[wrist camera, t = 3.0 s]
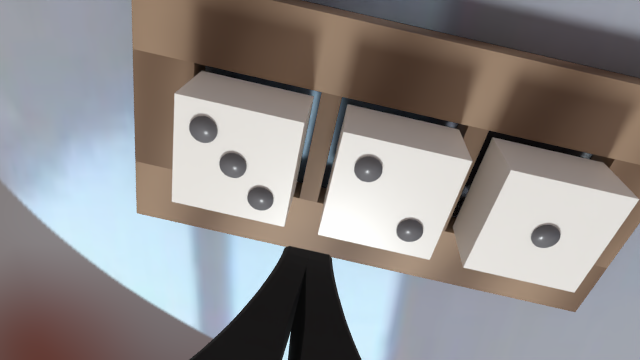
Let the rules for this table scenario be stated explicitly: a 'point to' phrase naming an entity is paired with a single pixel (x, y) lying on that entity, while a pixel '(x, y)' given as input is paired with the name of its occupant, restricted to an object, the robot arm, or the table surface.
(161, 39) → the tile board
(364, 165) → the two dot tile
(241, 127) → the three dot tile
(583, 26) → the table surface
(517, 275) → the one dot tile
